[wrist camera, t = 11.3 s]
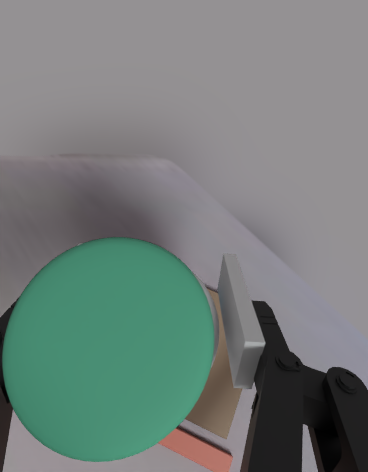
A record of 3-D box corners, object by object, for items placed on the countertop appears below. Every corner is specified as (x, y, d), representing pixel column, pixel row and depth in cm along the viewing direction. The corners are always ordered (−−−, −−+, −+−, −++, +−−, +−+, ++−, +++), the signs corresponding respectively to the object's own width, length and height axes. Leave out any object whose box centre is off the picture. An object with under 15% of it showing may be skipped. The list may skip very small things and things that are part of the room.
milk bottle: (101, 342, 24) (-192, 423, 5) (146, 270, 26) (71, 128, 7) (174, 388, 23) (177, 727, 4) (213, 309, 25) (341, 267, 6)
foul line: (19, 369, 23) (17, 369, 23) (29, 352, 24) (27, 352, 23) (225, 475, 21) (226, 478, 21) (231, 455, 22) (232, 457, 21)
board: (44, 346, 24) (41, 347, 23) (103, 243, 27) (102, 241, 27) (224, 436, 22) (226, 439, 21) (263, 314, 26) (265, 314, 25)
